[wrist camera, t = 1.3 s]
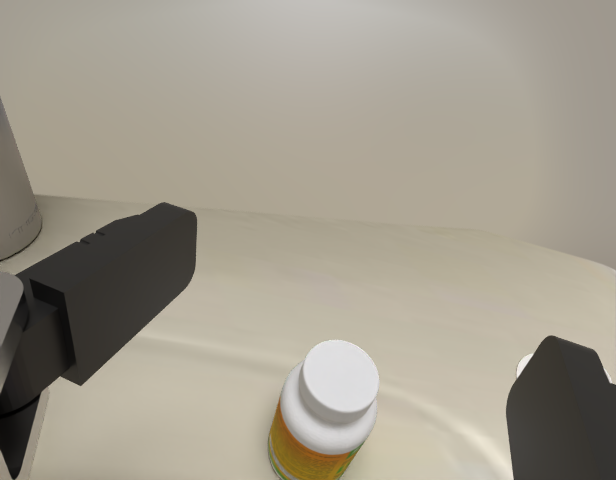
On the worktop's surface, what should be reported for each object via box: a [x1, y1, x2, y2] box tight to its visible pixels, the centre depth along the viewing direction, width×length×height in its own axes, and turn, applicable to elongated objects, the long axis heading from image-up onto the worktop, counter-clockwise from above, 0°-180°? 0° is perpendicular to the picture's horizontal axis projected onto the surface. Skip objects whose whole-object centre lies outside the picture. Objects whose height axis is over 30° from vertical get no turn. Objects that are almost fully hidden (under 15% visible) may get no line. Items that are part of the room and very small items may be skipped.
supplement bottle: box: [268, 340, 379, 480], centre depth 23 cm, size 5×5×10 cm
